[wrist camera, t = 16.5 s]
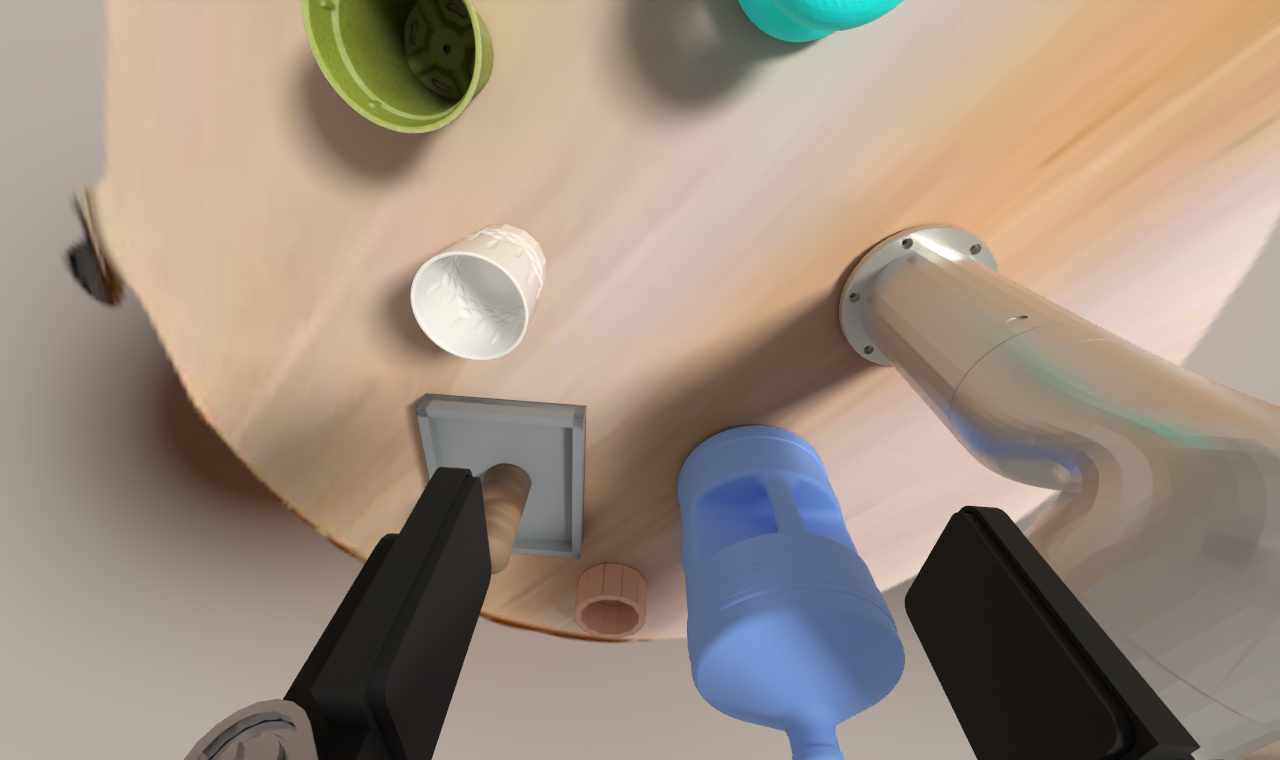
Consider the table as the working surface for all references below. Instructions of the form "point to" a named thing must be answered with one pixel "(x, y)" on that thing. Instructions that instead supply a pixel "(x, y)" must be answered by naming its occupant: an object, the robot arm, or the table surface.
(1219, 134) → the table surface
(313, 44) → the plant pot
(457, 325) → the white cup
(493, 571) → the walnut cylinder
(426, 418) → the slate tray
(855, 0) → the donuts
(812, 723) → the water jug
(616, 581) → the terracotta cup
